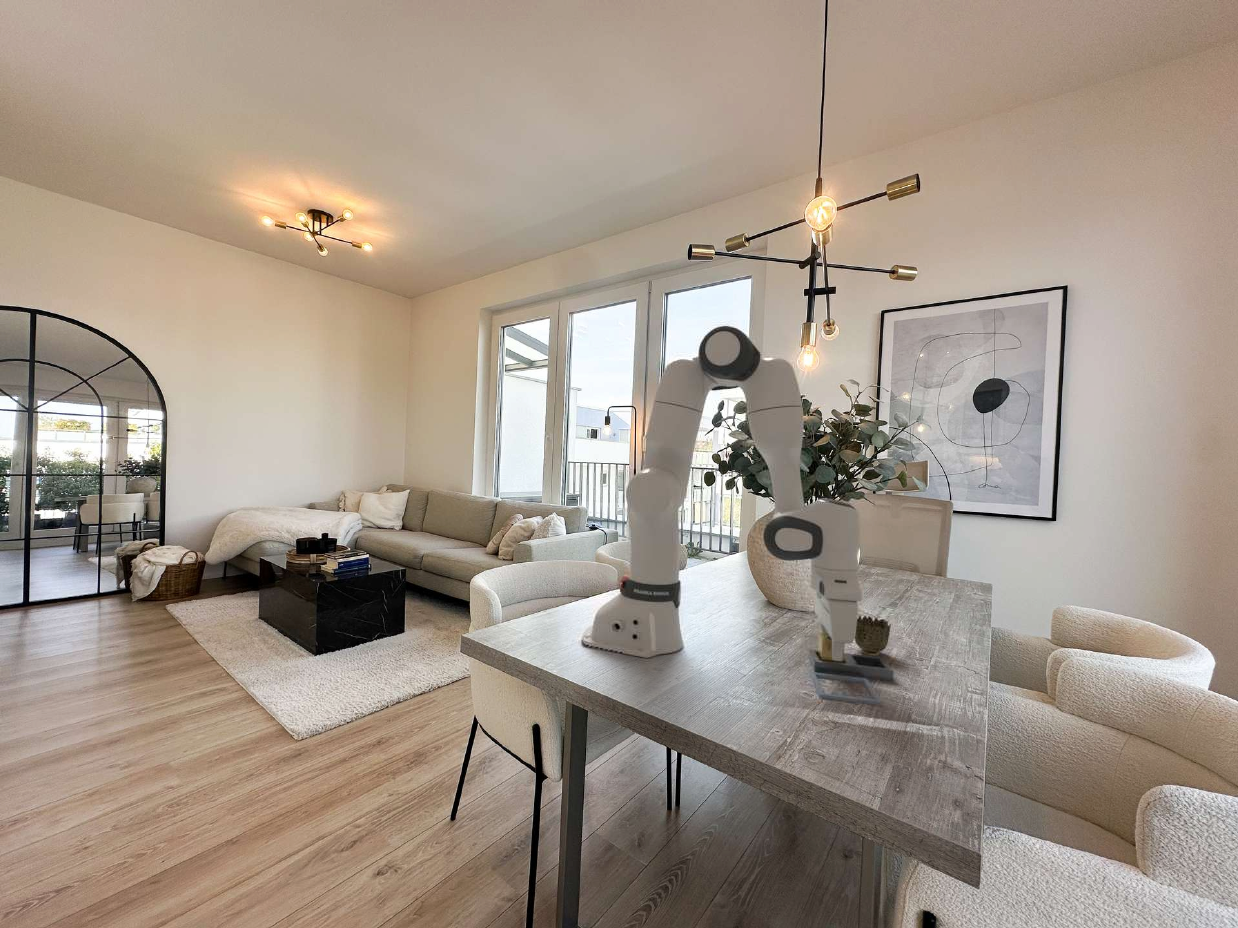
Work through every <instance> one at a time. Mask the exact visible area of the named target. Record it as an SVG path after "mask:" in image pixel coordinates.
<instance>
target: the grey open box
mask: <svg viewBox="0 0 1238 928" xmlns="http://www.w3.org/2000/svg"><path fill="white" fill-rule="evenodd" d="M808 661H809V664H810V666H811V667H812V670H813V672H816V673H824V674H833V675H841V676H850V677H858V678H866V679H867V680H876V681H877V680H878V681H884V682H894V674H895V673H894V669H893V668H892V667H891V666H890V665H889V663H888V662H887V661H886V660H885V658H884V657H881V656H872V655H867V654H865V655H863V654H855V653H847V652H844V661H843V663H838V662H829V661H820V660H819V659H818V649H810V648H809V649H808Z"/></svg>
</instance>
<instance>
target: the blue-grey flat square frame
mask: <svg viewBox="0 0 1238 928" xmlns="http://www.w3.org/2000/svg"><path fill="white" fill-rule="evenodd" d="M809 675H810V678H811V681H812V682H813V686H814V687H815V690H816V693H817V695H818V698H819V699H826V700H827V699H828V700H835V701H842V702H851V703H858V704H859V703H860V704H866V705H873V706H874V705H875V706H881V707H882V706H884V702H883V701H882V699H881V698H880V696H879V694H878V693H877V691H876V690H875V689H874V687H873V686H872V684H871V683H870V681H869V679H866V678H858V677H850V676H841V675H833V674H825V673H816V672H814V671H811V672H809ZM818 678H821V679H829V680H838V681H847V682H854V683H861V684H863V685H864V686H865V688H866V689H867V691H868V692H869V694H870V695H871V697H872V698H865V697H857V696H849V695H841V694H835V693H833V694H832V693H828V692H827V693H826V692H824V691H823V688H822V686H821V684H820V681H819V679H818Z"/></svg>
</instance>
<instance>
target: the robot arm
mask: <svg viewBox="0 0 1238 928" xmlns="http://www.w3.org/2000/svg"><path fill="white" fill-rule="evenodd" d="M697 355H698V356H696V357H687V356H686V357H683V356H680V357H677V358H674V359H671V360H670V361H669V362H668V363H667V364H666V366H665V369H664V371H663V373H662V375H661V378H660V381H659V383H658V386H657V388H656V389H657V390H656V392H655V395H654V396H655V397H654V401H653V404H652V409H651V412H650V416H649V421H648V425H647V430H646V433H645V448H644V449H645V451H644V458H643V459H644V461H643V468H642V470H639V471H638V472H637V473H635V474H634V476H632V478H631V479H630V480H629V482H628V485H627V487H626V491H625V499H626V500H625V501H626V503H627V515H628V516H627V519H628V527H629V536H630V537H629V539H630V540H629V541H630V553H629V575H628V574H624V575H623V576H622V577H621V580H620V583H619V592H620V593H619V594H617V595H615V597H612V599H610V600H609V601H607V602H606V603H605V604H603V605H602V606H601V607H599V609H598V610H597V611H596V612H595V616H594V620H593V624H592V625H590V626H589V627H587V629H585V631H584V632H583V633H582V636H581V642H582V641H583V643H584V644H585V645H590V646H594V647H593V648H595V647H600V648H603V649H602V650H605V649H608V650H607V651H610V650H614V651H613V652H615V651H617V653H620V652H622V654H626V655H630V656H636V657H639V658H640V657H642V658H652V657H655V656H659V655H663V654H665V655H666V654H669V653H675V652H678V651H680V650H682V648H683V647H684V645H685V644H684V641H683V636H682V630H681V623H680V609H679V607H680V605H681V597H682V595H681V594H682V586H681V580H680V562H681V541H680V527H679V526H680V523H679V522H680V521H679V511H680V510H679V509H680V508H681V507H682V506H683V504H684V502H685V500H686V496H687V491H688V486H689V481H690V474H691V471H692V470H691V469H692V465H693V459H694V458H693V457H694V451H695V447H696V442H697V438H698V434H699V429H700V425H701V421H702V417H703V413H704V409H705V404H706V401H707V397H708V394H709V393H710V392H711V391H714V392H715V391H721V390H722V391H724V390H732V389H737V388H740V389H741V390H742V392H743V394H744V398H745V404H746V413H747V421H748V422H747V423H748V426H749V431H750V435H751V438H752V441H753V444H754V447H755V449H757V451H758V452H759V454H760V455H761V456H762V458H763V460H764V461H765V463H766V465H767V468H768V471H769V474H770V479H771V481H770V482H771V487H772V495H773V502H774V512H773V516H772V518H771V519H770V520H769V522H768V523H767V524H766V525H765V527H764V530H763V537H762V539H763V540H762V541H763V543H764V546H765V548H766V549H767V551H768V552H769V553H770V554H771V556H773V557H775V558H776V559H779V560H781V561H787V562H795V561H804V560H810V575H809V576H810V581H809V587H810V588H811V589H812V590H815V596H814V612H815V615H816V617H817V618H818V619H819V621H820V622H819V625H820V631H821V633H824V634H829V635H830V637H831V638H832V648H831V657H832V659H833V660H836V661H841V660H842V656H843V650H844V651H845V647H846V644H852V643H853V642H855V634H856V625H857V618H858V617H859V615H858V614H859V604H858V602H861V601H862V599H863V598H862V597H863V592H862V588H861V586H860V576H859V575H860V566H859V562H858V554H859V550H860V548H861V523H860V516H859V515H860V514H859V512H858V510H857V509H856V507H854V506H853V505H852V504H850V503H848V502H845V501H841V500H836V499H833V498H828V497H827V498H826V497H822V498H818V499H817V500H816V501H814V502H812V503H810V504H807V505H806V504H805V499H804V491H803V485H802V477H801V467H800V465H801V455H802V448H803V440H804V438H803V437H804V424H805V423H804V409H803V403H802V397H801V390H800V387H799V383H798V379H797V376H796V373H795V370H794V368H793V366H792V364H791V363H790V362H789V360H786V359H783V358H780V357H779V358H778V357H768V358H762V357H761V352H760V350H758V348H757V347H756V345H755V344H754V343H753V342H752V341H751V339H750V338H749V336H748V335H747V334H745V332H744V331H742V330H740V329H739V328H737V327H735V326H730V325H721V326H717V327H714V328H712V329H711V330H709V331H708V332H707V333H706V334H705V335H704V337H703V338H702V339H701V341H700V344H699V346H698V354H697ZM583 643H582V644H583ZM584 644H583V645H584ZM585 645H584V646H585ZM590 646H589V647H590ZM600 648H599V649H600Z"/></svg>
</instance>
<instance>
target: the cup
mask: <svg viewBox="0 0 1238 928" xmlns="http://www.w3.org/2000/svg"><path fill="white" fill-rule="evenodd" d="M888 622H889V621H887V620H885V619H884V618H881V619H879V620H878V617H877V616H876V617H875V618H874V620H873V618H872V616H868V617H867V616H866V615H864V616H863V617H862V616H861V615H858V617H857V625H856V634H855V638H854V642H855V644H856V646H858V647H859V648H860V649H861V650H860V652H861V653H862V654H865V655H866V656H875V657H879V656H880V652H883V651H884V650H885V649H886V648H887V645H888V642H889V639H890V632H891V627H892V624H891V623H888Z"/></svg>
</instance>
